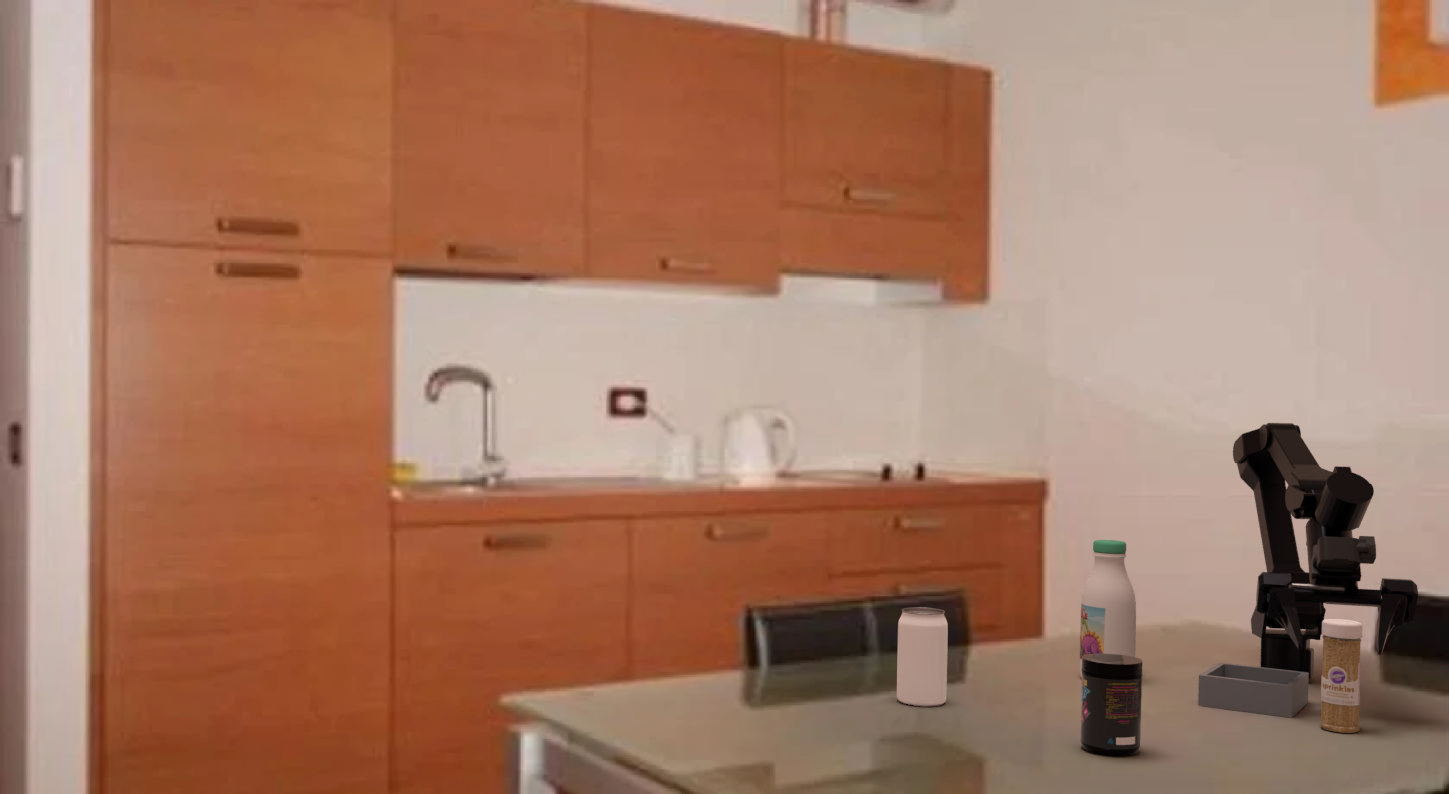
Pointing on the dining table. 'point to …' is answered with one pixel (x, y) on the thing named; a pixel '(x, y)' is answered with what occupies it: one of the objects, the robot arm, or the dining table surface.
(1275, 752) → the dining table surface
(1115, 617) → the milk bottle
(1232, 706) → the bin
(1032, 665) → the dining table surface
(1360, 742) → the dining table surface
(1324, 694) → the sprinkles bottle
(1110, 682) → the supplement container
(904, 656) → the can
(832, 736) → the dining table surface
